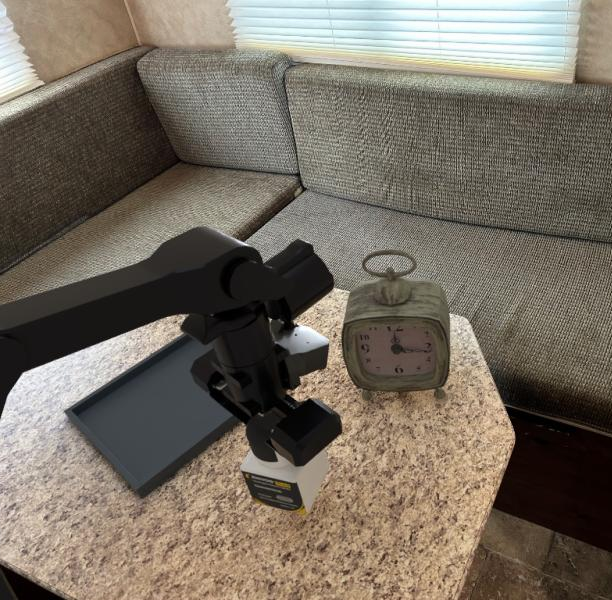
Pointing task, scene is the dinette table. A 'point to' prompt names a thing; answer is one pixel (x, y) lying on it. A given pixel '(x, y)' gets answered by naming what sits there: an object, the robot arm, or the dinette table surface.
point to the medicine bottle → (279, 471)
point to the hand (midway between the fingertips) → (279, 446)
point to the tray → (153, 416)
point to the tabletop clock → (396, 332)
